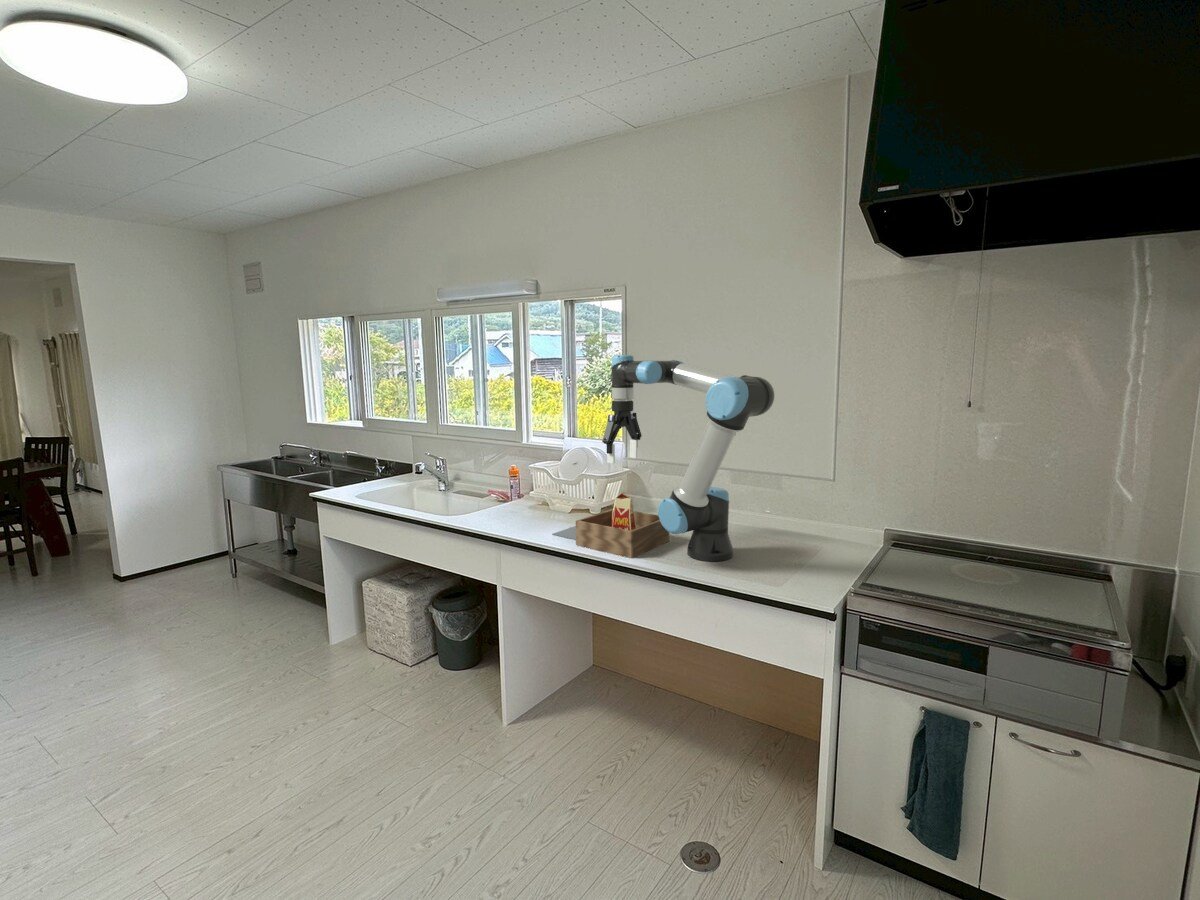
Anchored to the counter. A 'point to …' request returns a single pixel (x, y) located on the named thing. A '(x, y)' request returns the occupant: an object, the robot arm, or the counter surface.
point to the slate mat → (567, 533)
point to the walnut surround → (621, 534)
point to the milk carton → (623, 513)
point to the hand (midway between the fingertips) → (622, 460)
